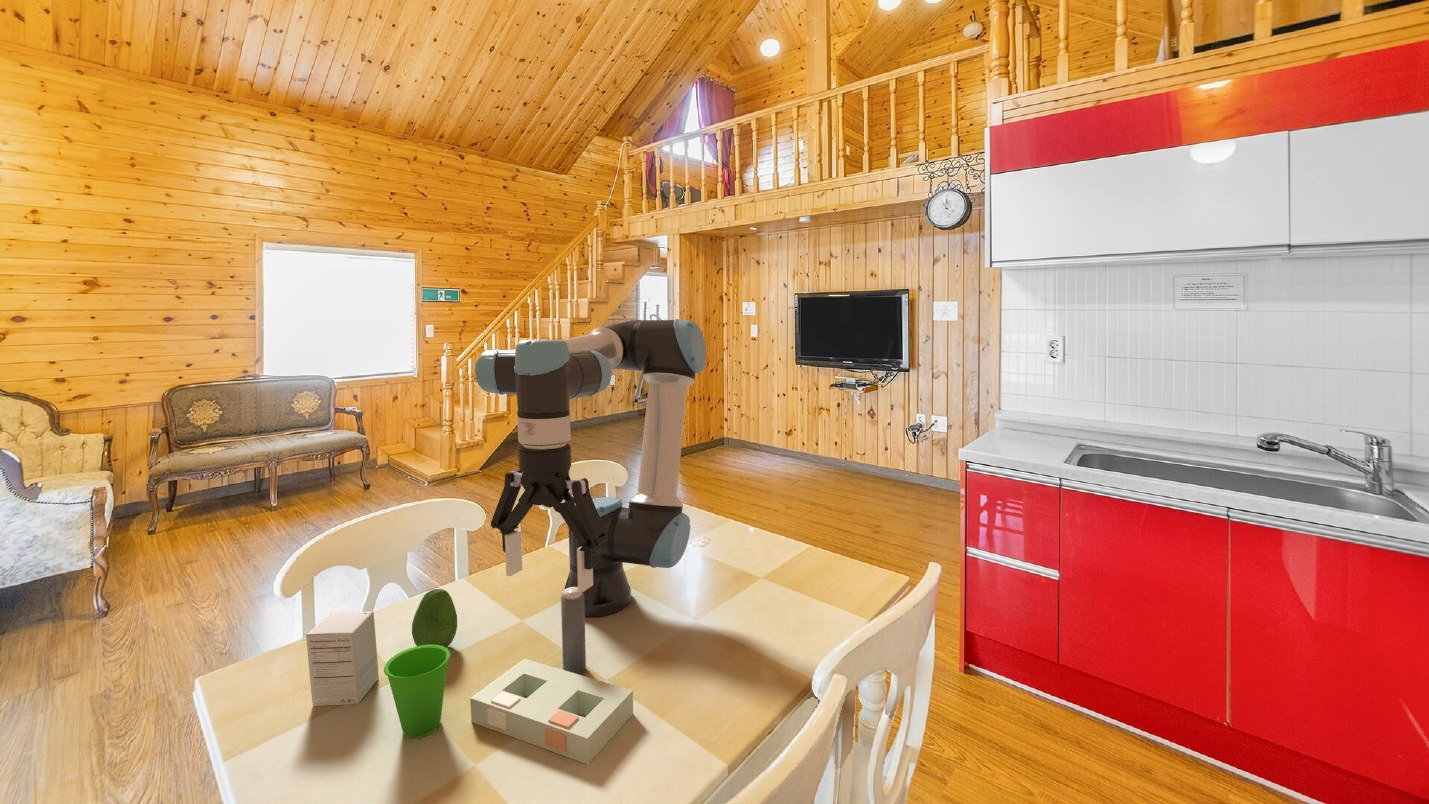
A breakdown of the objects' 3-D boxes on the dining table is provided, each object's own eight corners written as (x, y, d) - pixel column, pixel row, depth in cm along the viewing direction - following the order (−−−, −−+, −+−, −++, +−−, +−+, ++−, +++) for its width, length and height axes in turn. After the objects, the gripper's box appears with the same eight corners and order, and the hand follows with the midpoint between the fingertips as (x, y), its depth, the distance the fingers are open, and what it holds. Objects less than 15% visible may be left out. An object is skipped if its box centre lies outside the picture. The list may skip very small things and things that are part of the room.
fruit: (405, 651, 111) (401, 591, 109) (446, 634, 117) (443, 577, 115) (424, 666, 106) (420, 604, 104) (466, 648, 112) (463, 589, 110)
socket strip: (469, 723, 91) (468, 697, 90) (525, 680, 102) (524, 656, 101) (586, 766, 82) (586, 737, 81) (633, 713, 93) (632, 688, 92)
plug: (558, 673, 104) (556, 593, 102) (572, 661, 107) (570, 584, 106) (576, 678, 102) (574, 597, 100) (590, 666, 106) (588, 588, 104)
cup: (433, 701, 96) (430, 638, 94) (465, 722, 91) (462, 656, 89) (376, 732, 88) (372, 664, 87) (408, 756, 83) (403, 685, 82)
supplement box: (336, 680, 101) (330, 611, 100) (380, 678, 102) (375, 610, 101) (310, 707, 94) (304, 633, 93) (358, 705, 95) (352, 632, 93)
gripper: (462, 441, 88) (468, 575, 91) (600, 456, 78) (603, 606, 81) (499, 433, 95) (504, 558, 97) (630, 446, 85) (631, 585, 87)
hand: (549, 580), depth 89 cm, fingers open, 13 cm apart
